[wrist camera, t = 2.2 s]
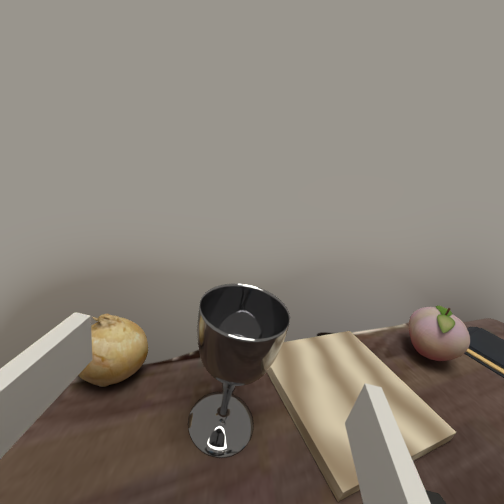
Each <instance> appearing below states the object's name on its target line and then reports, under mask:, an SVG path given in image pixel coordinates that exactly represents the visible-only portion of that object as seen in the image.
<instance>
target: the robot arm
mask: <svg viewBox="0 0 504 504" xmlns="http://www.w3.org/2000/svg"><path fill="white" fill-rule="evenodd" d="M91 361H92V336H91V316H89V315H85V314H81V313H76V312H75V313H73V314H72V315H71V316H70V317H68V318H67V319H66V320H64V321H63V322H62V323H60V324H59V325H58V326H56V327H55V328H54V329H52V330H51V331H50V332H49V333H47V334H46V335H44V336H43V337H42V338H40V339H39V340H38V341H37V342H35V343H34V344H32V345H31V346H30V347H29V348H27V349H26V350H25V351H23V352H22V353H21V354H19V355H18V356H17V357H15V358H14V359H13V360H12V361H10V362H9V363H7V364H6V365H5V366H4V367H2V368H1V369H0V459H1V458H2V457H3V456H4V454H5V453H6V452H7V451H8V450H9V449H10V448H11V447H12V446H13V445H14V444H15V443H16V442H17V440H18V439H19V438H20V437H21V436H22V435H23V434H24V433H25V432H26V431H27V430H28V429H29V428H30V427H31V425H32V424H33V423H34V422H35V421H36V420H37V419H38V418H39V417H40V416H41V415H42V414H43V413H44V411H45V410H46V409H47V408H48V407H49V406H50V405H51V404H52V403H53V402H54V401H55V400H56V399H57V397H58V396H59V395H60V394H61V393H62V392H63V391H64V390H65V389H66V388H67V387H68V386H69V385H70V383H71V382H72V381H73V380H74V379H75V378H76V377H77V376H78V375H79V374H80V373H81V372H82V371H83V369H84V368H85V367H86V366H87V365H88V364H89V363H90V362H91ZM345 426H346V431H347V435H348V439H349V444H350V448H351V452H352V457H353V461H354V465H355V470H356V474H357V478H358V483H359V487H360V491H361V496H362V500H363V504H446V503H445V501H444V500H443V498H442V497H441V496H440V494H438V493H434V492H430V491H427V490H425V489H424V486H423V484H422V482H421V479H420V477H419V475H418V472H417V470H416V467H415V465H414V463H413V460H412V458H411V456H410V453H409V451H408V449H407V446H406V444H405V442H404V439H403V437H402V434H401V432H400V430H399V427H398V425H397V423H396V420H395V418H394V416H393V413H392V411H391V409H390V406H389V404H388V401H387V399H386V397H385V394H384V392H383V390H382V387H378V386H374V385H370V384H366V383H365V384H364V386H363V388H362V390H361V392H360V394H359V396H358V398H357V400H356V402H355V404H354V406H353V408H352V410H351V412H350V414H349V416H348V418H347V420H346V422H345Z"/></svg>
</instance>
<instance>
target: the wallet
mask: <svg viewBox="0 0 504 504" xmlns="http://www.w3.org/2000/svg"><path fill="white" fill-rule="evenodd" d="M467 330H468V332H469V335H470V345H469V348H468V349H467V351H466V352H465V353H464V354H466V355H467V356H469V357H471V358H472V359H474V360H476V361H477V362H479V363H480V364H482V365H484V366H485V367H487V368H489V369H490V370H492V371H493V372H495V373H497V374H498V375H500V376H502V377H503V378H504V340H503V339H501V338H499V337H497V336H495V335H493V334H492V333H490V332H488V331H486V330H484V329H482V328H478V327H469V328H467Z"/></svg>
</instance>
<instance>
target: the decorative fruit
mask: <svg viewBox="0 0 504 504" xmlns="http://www.w3.org/2000/svg"><path fill="white" fill-rule="evenodd" d="M409 334H410V337H411V341H412V344H413V346H414V348H415V349H416V350H417V352H418V353H419V354H421V355H422V356H424V357H426V358H429V359H431V360H436V361H448V360H452V359H455V358H457V357H460V356H461V355H463V354H464V353H465V352H466V351H467V349H468V348H469V345H470V335H469V332H468V330H467V328H466V326H465V325H464V324H463V322H462V321H461V320H460V319H458V318H457V317H455V316H454V315H452V312H451V311H450V308H448V309H446V308H444V307H442V306H436V308H435V307H425V308H421V309H419V310H417V311H415V312H414V313H413V314H412V315H411V317H410V321H409Z"/></svg>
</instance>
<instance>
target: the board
mask: <svg viewBox="0 0 504 504" xmlns="http://www.w3.org/2000/svg"><path fill="white" fill-rule="evenodd" d="M267 373H268V375H269V377H270V379H271V381H272V383H273V384H274V386H275V388H276V390H277V392H278V394H279V395H280V397H281V399H282V401H283V403H284V405H285V406H286V408H287V410H288V412H289V414H290V416H291V417H292V419H293V421H294V423H295V425H296V427H297V428H298V430H299V432H300V434H301V436H302V438H303V439H304V441H305V443H306V445H307V447H308V448H309V450H310V452H311V454H312V456H313V458H314V459H315V461H316V463H317V465H318V467H319V469H320V470H321V472H322V474H323V476H324V478H325V480H326V481H327V483H328V485H329V487H330V489H331V491H332V492H333V494H334V496H335V498H336V500H337V502H339V501H341V500H342V499H344V498H346V497H348V496H350V495H352V494H353V493H355V492H357V491H359V490H360V487H359V483H358V478H357V474H356V470H355V465H354V461H353V457H352V452H351V448H350V444H349V439H348V435H347V431H346V426H345V422H346V420H347V418H348V416H349V414H350V412H351V410H352V408H353V406H354V404H355V402H356V400H357V398H358V396H359V394H360V392H361V390H362V388H363V386H364V384H365V383H366V384H370V385H374V386H378V387H382V390H383V392H384V394H385V397H386V399H387V401H388V404H389V406H390V409H391V411H392V413H393V416H394V418H395V420H396V423H397V425H398V427H399V430H400V432H401V434H402V437H403V439H404V442H405V444H406V446H407V449H408V451H409V453H410V456H411V458H412V460H413V461H414V460H415V459H417V458H419V457H421V456H423V455H425V454H426V453H428V452H430V451H432V450H434V449H436V448H437V447H439V446H441V445H443V444H445V443H446V442H448V441H450V440H451V439H452V437H453V436H454V435H455V433H456V432H455V431H454V430H453V429H452V428H451V427H450V426H449V425H448V424H447V423H446V422H445V421H444V420H443V419H442V418H441V417H440V416H438V415H437V414H436V413H435V412H434V411H433V410H432V409H431V408H430V407H429V406H428V405H427V404H426V403H425V402H424V401H423V400H422V399H421V398H420V397H418V396H417V395H416V394H415V393H414V392H413V391H412V390H411V389H410V388H409V387H408V386H407V385H406V384H405V383H404V382H403V381H402V380H401V379H400V378H399V377H397V376H396V375H395V374H394V373H393V372H392V371H391V370H390V369H389V368H388V367H387V366H386V365H385V364H384V363H383V362H382V361H381V360H380V359H379V358H377V357H376V356H375V355H374V354H373V353H372V352H371V351H370V350H369V349H368V348H367V347H366V346H365V345H364V344H363V343H362V342H361V341H360V340H359V339H358V338H356V337H355V336H354V335H353V334H352V333H351V332H350V331H347V332H341V333H335V334H330V335H324V336H318V337H312V338H306V339H300V340H294V341H289V342H283V344H282V347H281V349H280V351H279V353H278V355H277V357H276V359H275V361H274V362H273V364H272V365H271V367H270V368H269V370H268V371H267Z"/></svg>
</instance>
